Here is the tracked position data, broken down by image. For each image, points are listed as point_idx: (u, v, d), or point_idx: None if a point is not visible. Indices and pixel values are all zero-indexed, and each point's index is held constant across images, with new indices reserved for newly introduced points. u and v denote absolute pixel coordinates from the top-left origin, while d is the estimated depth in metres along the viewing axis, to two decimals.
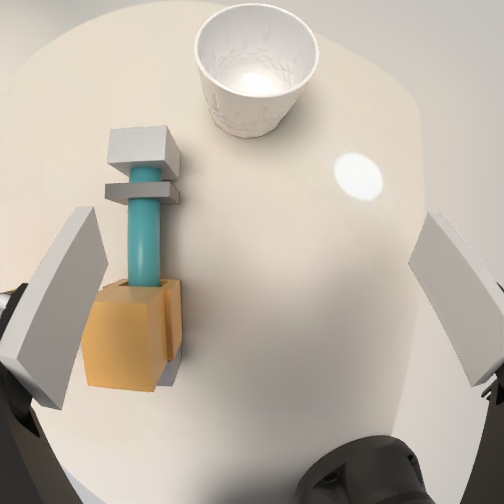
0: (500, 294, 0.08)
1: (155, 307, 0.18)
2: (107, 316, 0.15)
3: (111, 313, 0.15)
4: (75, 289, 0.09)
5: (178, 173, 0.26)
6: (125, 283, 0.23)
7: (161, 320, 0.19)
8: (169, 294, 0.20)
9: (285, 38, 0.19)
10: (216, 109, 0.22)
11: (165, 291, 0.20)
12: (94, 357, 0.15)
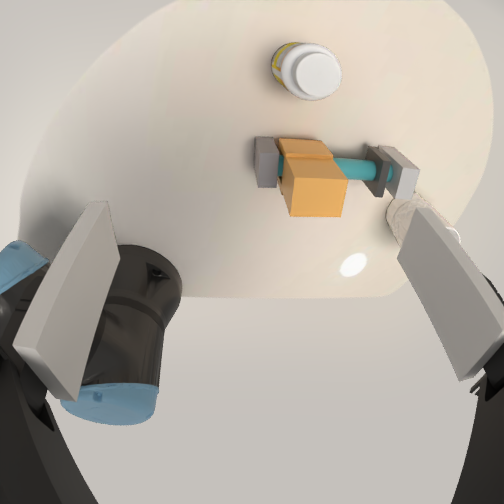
0: (487, 287, 0.08)
1: None
2: (337, 196, 0.29)
3: (338, 199, 0.29)
4: (90, 282, 0.09)
5: None
6: None
7: None
8: None
9: None
10: (409, 213, 0.38)
11: None
12: (313, 185, 0.28)
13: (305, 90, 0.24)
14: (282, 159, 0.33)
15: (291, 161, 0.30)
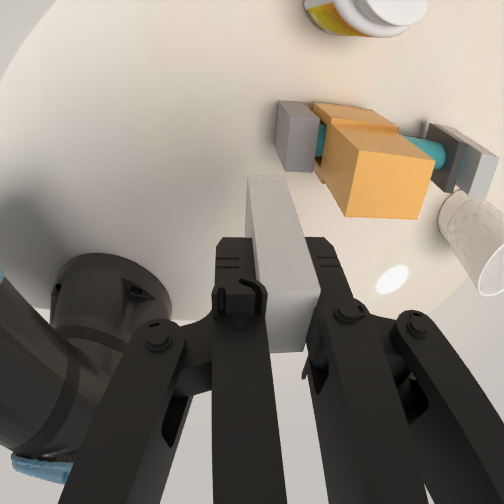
0: (300, 247, 0.09)
1: None
2: (417, 187, 0.16)
3: (418, 191, 0.17)
4: None
5: None
6: None
7: None
8: None
9: (498, 267, 0.28)
10: (474, 215, 0.26)
11: None
12: (387, 166, 0.16)
13: (377, 10, 0.11)
14: (322, 130, 0.21)
15: (342, 129, 0.18)
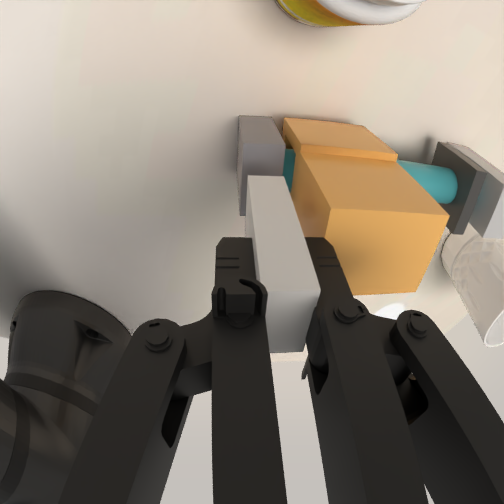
0: (300, 247, 0.09)
1: None
2: (420, 252, 0.11)
3: (421, 257, 0.12)
4: None
5: None
6: None
7: None
8: None
9: None
10: (486, 253, 0.21)
11: None
12: (375, 228, 0.11)
13: None
14: (291, 158, 0.16)
15: (315, 163, 0.13)
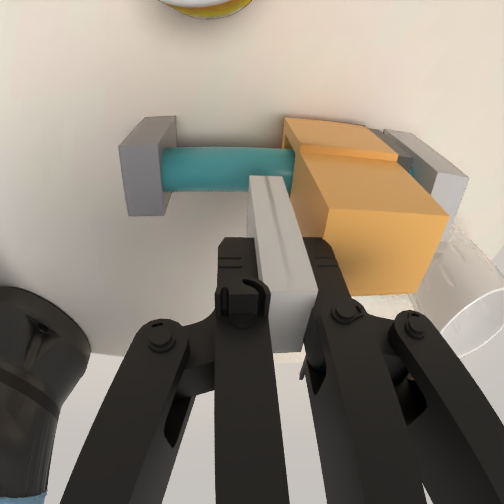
0: (298, 247, 0.09)
1: None
2: (419, 253, 0.11)
3: (421, 258, 0.12)
4: None
5: None
6: None
7: None
8: None
9: (471, 318, 0.22)
10: (436, 254, 0.20)
11: None
12: (374, 229, 0.11)
13: None
14: (172, 156, 0.15)
15: (314, 163, 0.13)
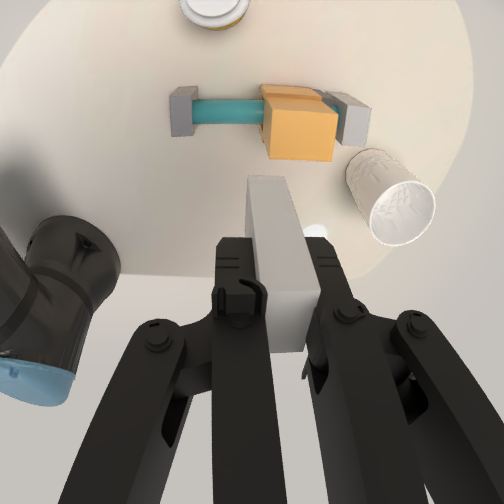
0: (300, 247, 0.09)
1: None
2: (326, 135, 0.23)
3: (327, 138, 0.23)
4: None
5: None
6: None
7: None
8: None
9: (408, 221, 0.33)
10: (369, 169, 0.32)
11: None
12: (296, 120, 0.22)
13: (197, 10, 0.17)
14: (198, 103, 0.27)
15: (271, 99, 0.24)
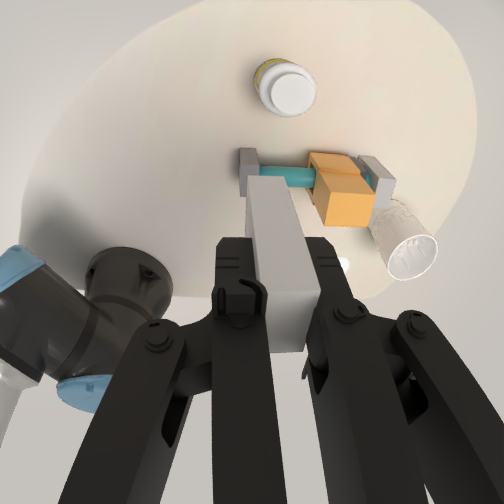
0: (300, 247, 0.09)
1: None
2: (365, 209, 0.32)
3: (366, 211, 0.32)
4: None
5: None
6: None
7: None
8: None
9: (415, 259, 0.42)
10: (388, 220, 0.41)
11: None
12: (346, 199, 0.31)
13: (279, 109, 0.26)
14: (263, 170, 0.36)
15: (324, 176, 0.33)
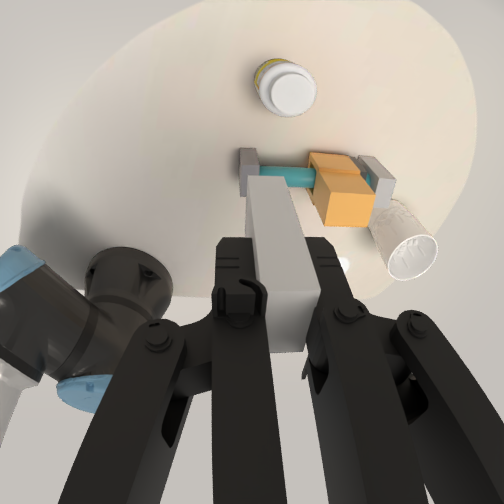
0: (300, 247, 0.09)
1: None
2: (365, 209, 0.32)
3: (366, 211, 0.32)
4: None
5: None
6: None
7: None
8: None
9: (415, 259, 0.42)
10: (388, 220, 0.41)
11: None
12: (346, 199, 0.31)
13: (280, 109, 0.26)
14: (263, 170, 0.36)
15: (325, 176, 0.33)
